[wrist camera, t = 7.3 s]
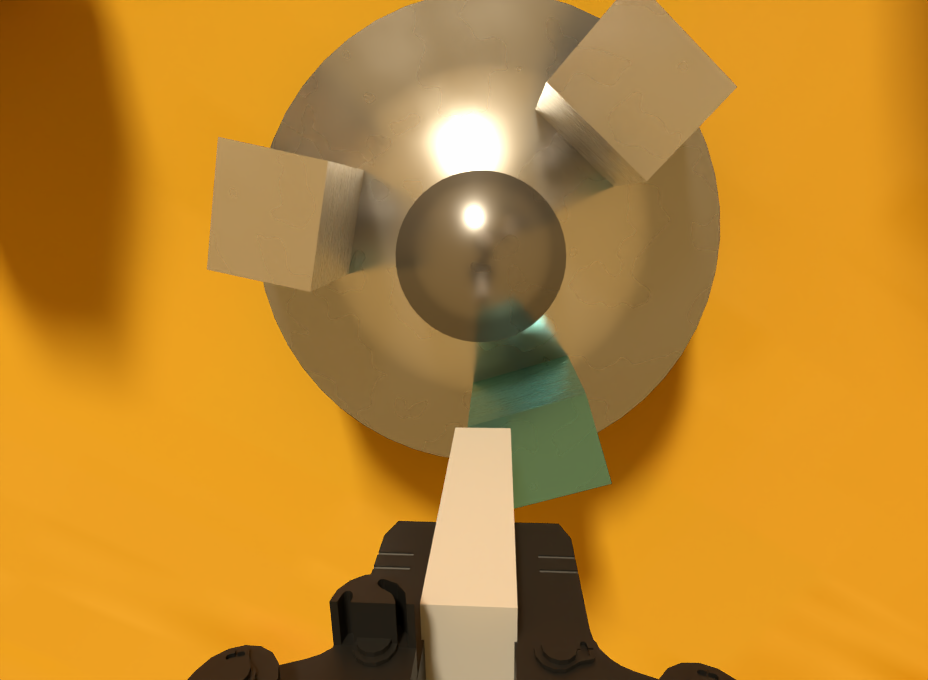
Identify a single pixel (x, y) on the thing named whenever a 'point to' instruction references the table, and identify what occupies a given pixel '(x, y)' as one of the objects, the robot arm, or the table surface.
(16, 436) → the table surface
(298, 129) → the lathe chuck
